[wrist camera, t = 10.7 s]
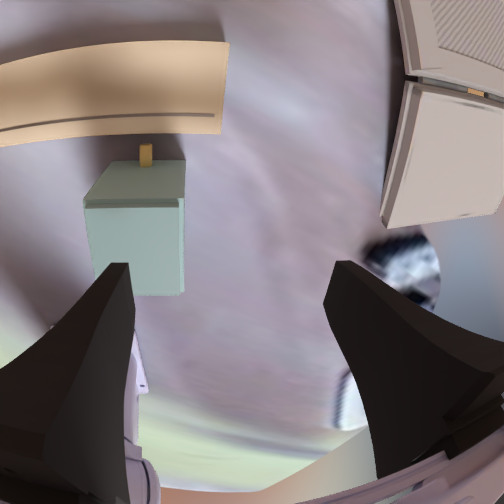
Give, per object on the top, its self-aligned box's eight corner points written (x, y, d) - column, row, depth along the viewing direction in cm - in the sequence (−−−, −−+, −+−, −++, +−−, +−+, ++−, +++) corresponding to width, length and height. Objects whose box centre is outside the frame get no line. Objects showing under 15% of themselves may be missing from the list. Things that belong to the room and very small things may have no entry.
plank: (218, 128, 17) (220, 134, 15) (-65, 157, 12) (-79, 165, 11) (226, 45, 14) (229, 42, 13) (-70, 94, 10) (-85, 99, 8)
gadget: (487, 207, 25) (511, 224, 22) (374, 221, 23) (398, 245, 20) (501, -6, 13) (530, -4, 10) (373, -65, 11) (402, -79, 8)
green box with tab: (184, 233, 20) (184, 298, 15) (118, 233, 19) (96, 297, 14) (186, 140, 17) (184, 174, 12) (112, 141, 16) (76, 177, 11)
